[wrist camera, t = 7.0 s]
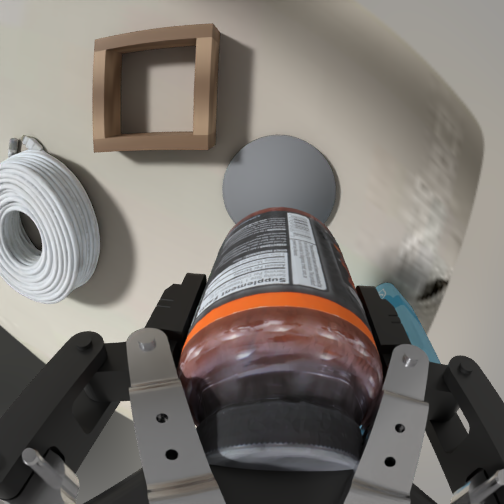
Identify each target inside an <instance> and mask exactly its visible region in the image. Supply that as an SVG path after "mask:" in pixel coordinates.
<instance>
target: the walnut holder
mask: <svg viewBox="0 0 504 504" xmlns="http://www.w3.org/2000/svg"><path fill="white" fill-rule="evenodd" d="M219 43H220V32H219V31H218V29H217V28H216V27H215V26H214V24H196V25H184V26H173V27H164V28H156V29H149V30H142V31H136V32H130V33H125V34H119V35H114V36H110V37H105V38H100V39H96V40H95V46H94V63H93V143H94V153H95V152H111V151H134V150H209V149H210V148H212V147H213V146H215V145H216V110H217V84H218V62H219ZM183 46H196V58H195V81H194V114H193V132H152V133H131V134H121V69H122V54H124V53H130V52H137V51H144V50H152V49H161V48H171V47H183Z"/></svg>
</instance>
